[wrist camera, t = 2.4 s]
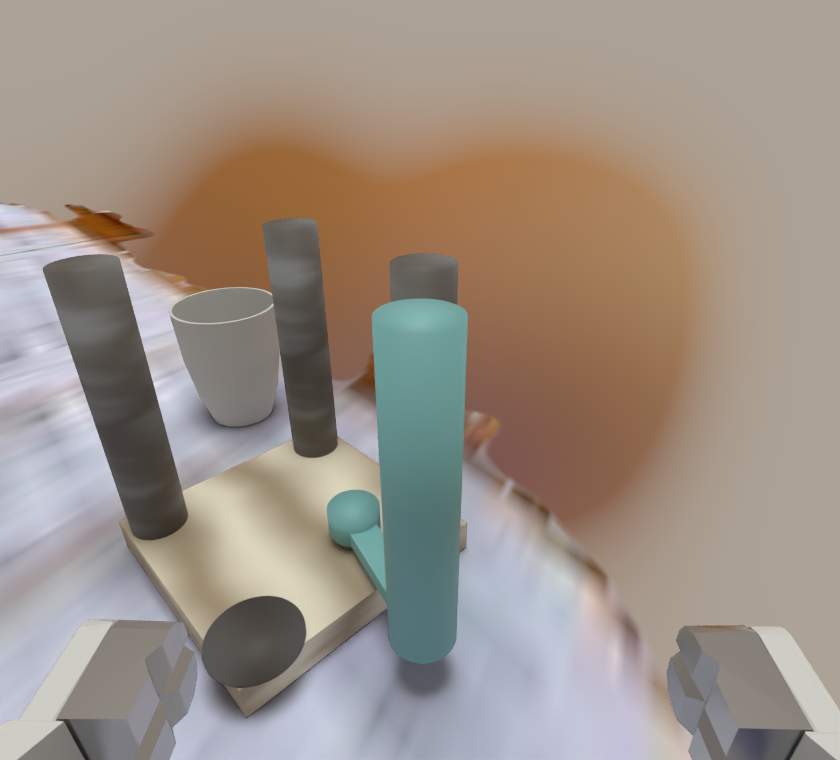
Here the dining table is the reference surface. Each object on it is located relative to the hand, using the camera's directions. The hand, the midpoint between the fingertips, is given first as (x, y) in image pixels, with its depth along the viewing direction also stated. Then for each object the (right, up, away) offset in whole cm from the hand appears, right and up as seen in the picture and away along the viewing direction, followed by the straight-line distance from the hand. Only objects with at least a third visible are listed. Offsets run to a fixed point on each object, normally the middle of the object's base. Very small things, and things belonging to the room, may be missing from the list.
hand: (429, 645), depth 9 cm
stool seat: (-8, -6, +25) cm, 27 cm away
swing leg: (-2, -6, +20) cm, 21 cm away
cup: (-16, +1, +40) cm, 43 cm away
